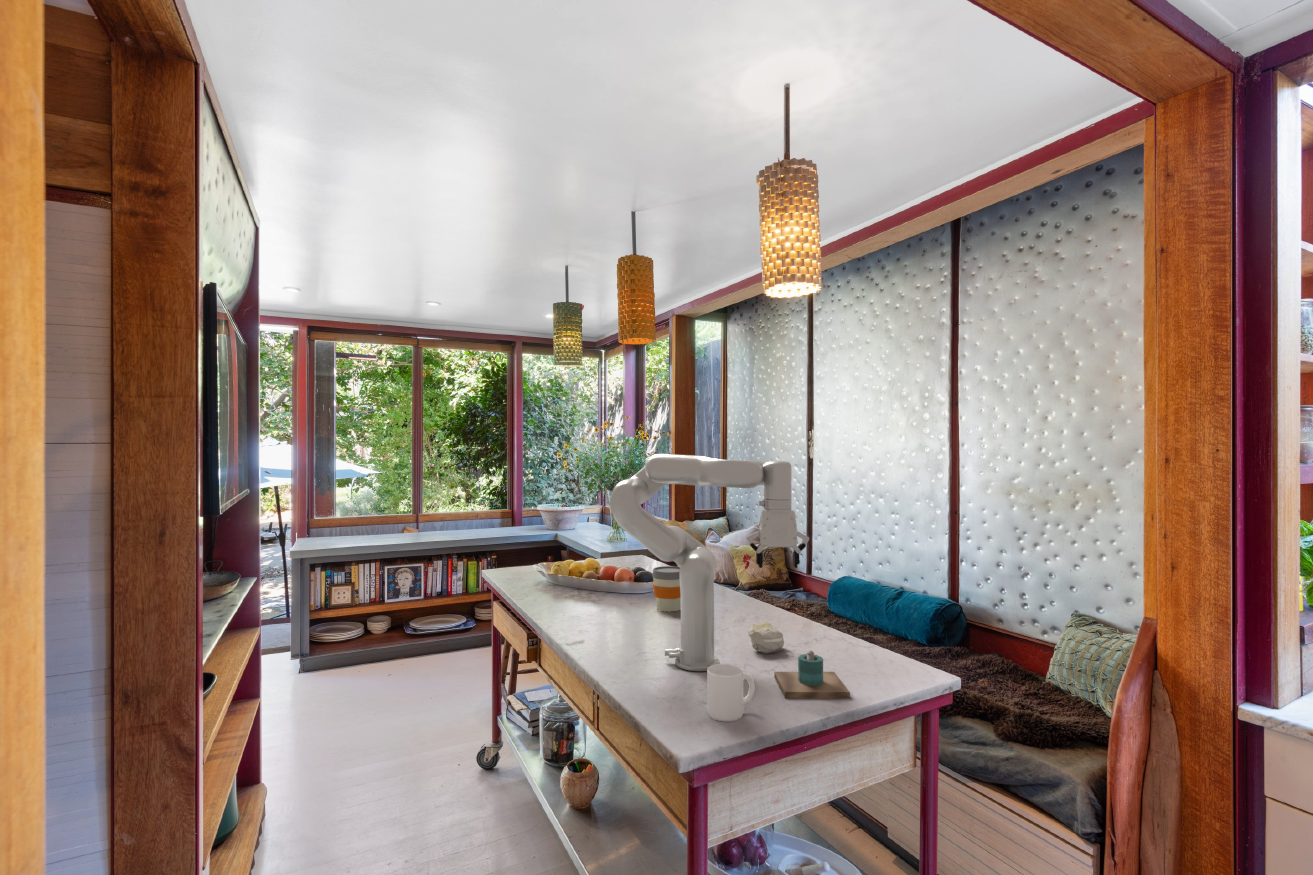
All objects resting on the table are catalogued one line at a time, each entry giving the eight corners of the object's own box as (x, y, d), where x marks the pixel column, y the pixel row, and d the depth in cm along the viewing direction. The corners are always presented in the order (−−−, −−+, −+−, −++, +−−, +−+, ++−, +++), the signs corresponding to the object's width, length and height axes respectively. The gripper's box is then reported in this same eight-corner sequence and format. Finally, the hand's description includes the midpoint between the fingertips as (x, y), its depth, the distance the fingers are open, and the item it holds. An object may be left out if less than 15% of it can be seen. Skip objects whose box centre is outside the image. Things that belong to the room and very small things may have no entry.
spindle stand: (784, 697, 156) (784, 659, 156) (774, 677, 170) (774, 641, 170) (849, 698, 156) (849, 659, 156) (834, 677, 170) (834, 642, 170)
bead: (801, 685, 160) (801, 661, 160) (796, 677, 166) (796, 654, 166) (825, 685, 160) (825, 661, 160) (819, 677, 166) (819, 654, 166)
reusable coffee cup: (691, 607, 243) (691, 568, 243) (674, 614, 232) (674, 573, 233) (663, 603, 250) (663, 564, 250) (645, 610, 239) (645, 570, 239)
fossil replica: (790, 649, 194) (760, 646, 199) (789, 621, 195) (759, 619, 200) (776, 657, 184) (744, 654, 189) (775, 627, 185) (743, 625, 190)
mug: (745, 702, 153) (745, 659, 153) (764, 716, 146) (764, 671, 146) (701, 710, 149) (701, 666, 149) (717, 724, 141) (717, 678, 141)
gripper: (748, 506, 173) (748, 569, 173) (812, 506, 173) (812, 569, 173) (744, 504, 180) (744, 564, 180) (805, 504, 180) (805, 564, 180)
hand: (777, 567), depth 176 cm, fingers open, 9 cm apart
